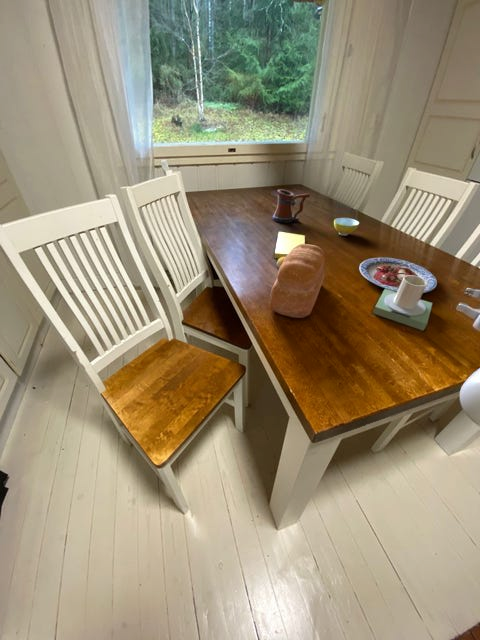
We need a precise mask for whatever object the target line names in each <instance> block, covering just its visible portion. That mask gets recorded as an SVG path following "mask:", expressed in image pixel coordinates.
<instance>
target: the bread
mask: <svg viewBox="0 0 480 640" xmlns="http://www.w3.org/2000/svg"><path fill="white" fill-rule="evenodd" d="M325 262H326V255H325V252H324V251H323V249H322V248H321V247H320V246H317V245H314V244H309V243H305V244H300V245H297V246H296V247H294V248H293V249H292V250H291V252H290V253H289V254H288V255H287V256H286V257H285V259H284V261H283V263H282V265H281V267H280V268H278V271H277V273H276V280H275V281H274V284H273V285H272V288H271V290H270V296H269V297H270V298H269V305H270V307H271V310H272V311H273V312H275V313H277V314H279V315H281V316H286V317H290V318H296V319H304V318H305V317H307V316H309V315H311V313H312V311H313V308H314V306H315V304H316V302H317V299H318V296H319V293H320V290H321V287H322V285H323V282H324V280H325V276H326V268H325V265H324V264H325Z"/></svg>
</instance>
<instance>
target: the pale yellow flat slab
mask: <svg viewBox="0 0 480 640" xmlns="http://www.w3.org/2000/svg"><path fill="white" fill-rule="evenodd" d="M305 237H306V235H303V234H297V233H291V232H284V231H278V234H277V240H276V245H275V250H274V259H280V258H281V257H286V256H287V255H288V254H289V253H290V252H291V250H292V249H293V248H294V247H296V246H297V245H300V244H306V240H305Z"/></svg>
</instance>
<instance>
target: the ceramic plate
mask: <svg viewBox="0 0 480 640" xmlns="http://www.w3.org/2000/svg"><path fill="white" fill-rule="evenodd" d="M358 269H359V272H360V274H361V275H362V276H363V278H365V279H366V280H367V281H369V282H371V283H372V284H374V285H376V286H378V287H381V288H383V289H387V290H390V291H394V292H397V291H398V289H399V287H400V284H401V282H402V280H403V278H404V276H406V275H414V276H418V277H421V278H423V279H425V280H426V281H427V283H428V284H427V286H426V288H425V290H424V292H423V294H424V293H428V292H431V291H433V290H434V289H435V288H436V287H437V284H438V281H437V278H436V276H434V274H432V273H431V272H430V271H429V270H427V269H426V268H424V267H422V266H420V265H418V264H416V263H412V262H410V261H407V260H403V259H398V258H392V257H373V258H368V259H365V260H363V261H362V262H361V263H360V264H359V268H358Z"/></svg>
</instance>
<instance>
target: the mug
mask: <svg viewBox="0 0 480 640" xmlns="http://www.w3.org/2000/svg"><path fill="white" fill-rule="evenodd" d="M310 195H311V194H310V193H309V192H308V193H304V194H303V193H302V194H296V195H294V193H293V192H292V191H289V190H287V189H283V188H279V189H277V205H276V209H275V212H274V214H273V215H272V219H273V221H275V222H277V223H281V224H288V223H292V222H293V221H295V222H298V221H300V218H299V217H297V216H298V215H299V214H301V213H302V212H303V210H304V202H305V201H306V199H307V198H310ZM300 198H302V199H301V201H300V203H299V209H298V210H297V211H296V212H295V213H294V214H293V211H292V207H294V206H295V205H296V203H297V199H300Z"/></svg>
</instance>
